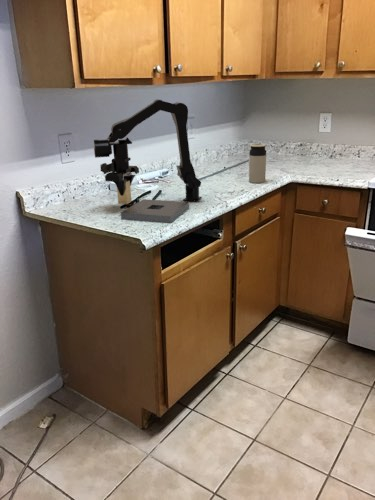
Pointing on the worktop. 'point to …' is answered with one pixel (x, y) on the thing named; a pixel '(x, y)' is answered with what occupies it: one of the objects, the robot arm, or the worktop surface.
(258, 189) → the worktop surface
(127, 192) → the brass peg
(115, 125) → the robot arm
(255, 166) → the travel mug
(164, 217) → the post plate
